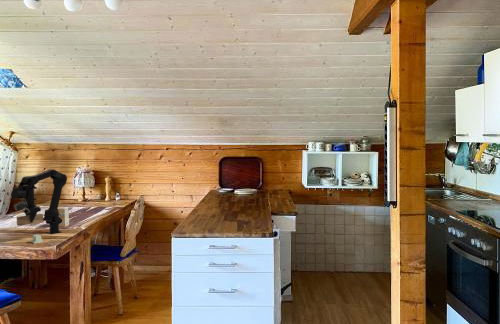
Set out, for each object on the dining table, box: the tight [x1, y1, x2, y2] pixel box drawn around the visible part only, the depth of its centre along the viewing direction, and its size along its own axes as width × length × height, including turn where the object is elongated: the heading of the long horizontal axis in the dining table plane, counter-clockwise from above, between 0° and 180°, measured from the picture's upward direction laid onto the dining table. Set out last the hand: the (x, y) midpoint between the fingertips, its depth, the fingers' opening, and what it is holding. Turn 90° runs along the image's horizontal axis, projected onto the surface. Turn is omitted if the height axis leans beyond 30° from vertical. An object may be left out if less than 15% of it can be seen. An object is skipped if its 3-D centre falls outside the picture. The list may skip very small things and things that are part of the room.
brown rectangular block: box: [16, 213, 45, 227], centre depth 250 cm, size 4×14×5 cm, turn 131°
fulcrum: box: [30, 234, 44, 244], centre depth 245 cm, size 5×5×4 cm
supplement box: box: [58, 206, 70, 228], centre depth 288 cm, size 8×5×13 cm, turn 81°
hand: (30, 222), depth 250 cm, fingers closed on brown rectangular block, 4 cm apart
